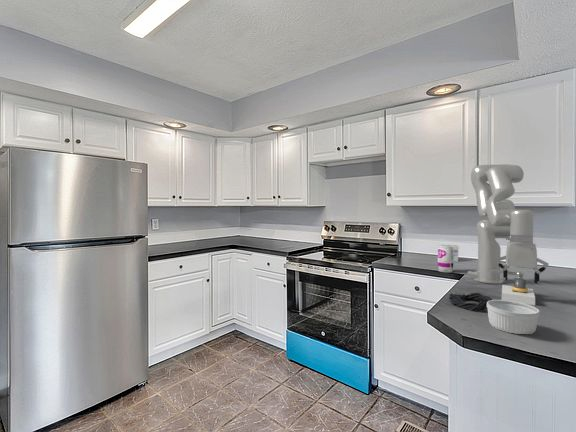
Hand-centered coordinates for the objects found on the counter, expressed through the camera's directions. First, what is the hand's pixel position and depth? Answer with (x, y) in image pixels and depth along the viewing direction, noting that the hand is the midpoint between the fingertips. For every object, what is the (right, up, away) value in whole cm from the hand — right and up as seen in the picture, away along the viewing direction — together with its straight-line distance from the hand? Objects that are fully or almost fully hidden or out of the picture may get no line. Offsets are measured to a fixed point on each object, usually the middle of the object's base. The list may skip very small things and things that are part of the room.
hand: (520, 281), depth 125 cm
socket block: (0, -7, +1) cm, 7 cm away
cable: (-26, -8, -8) cm, 28 cm away
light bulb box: (+20, -5, +93) cm, 96 cm away
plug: (0, -7, +1) cm, 7 cm away
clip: (0, +1, +9) cm, 9 cm away
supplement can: (-3, -6, +55) cm, 55 cm away
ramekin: (-26, -8, -31) cm, 41 cm away
